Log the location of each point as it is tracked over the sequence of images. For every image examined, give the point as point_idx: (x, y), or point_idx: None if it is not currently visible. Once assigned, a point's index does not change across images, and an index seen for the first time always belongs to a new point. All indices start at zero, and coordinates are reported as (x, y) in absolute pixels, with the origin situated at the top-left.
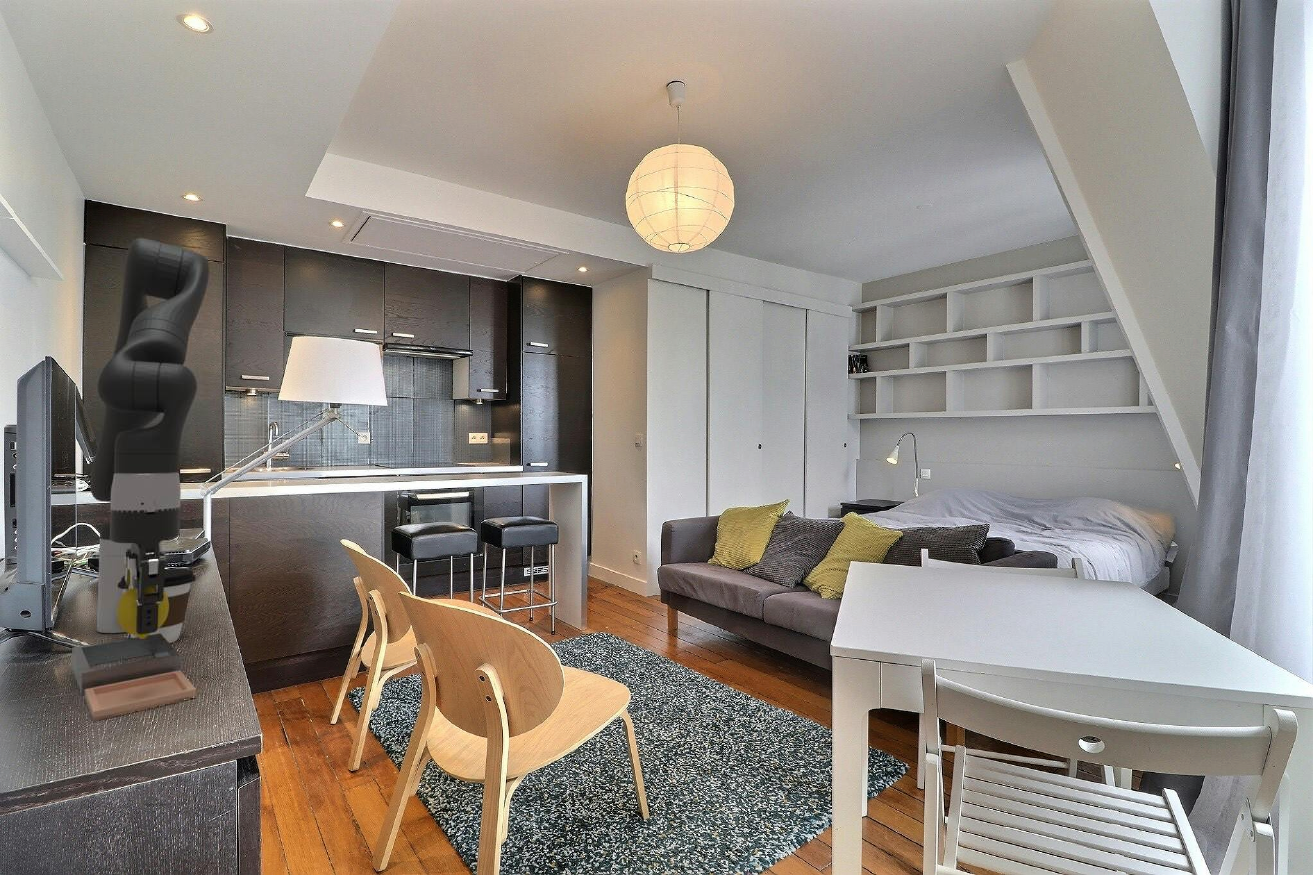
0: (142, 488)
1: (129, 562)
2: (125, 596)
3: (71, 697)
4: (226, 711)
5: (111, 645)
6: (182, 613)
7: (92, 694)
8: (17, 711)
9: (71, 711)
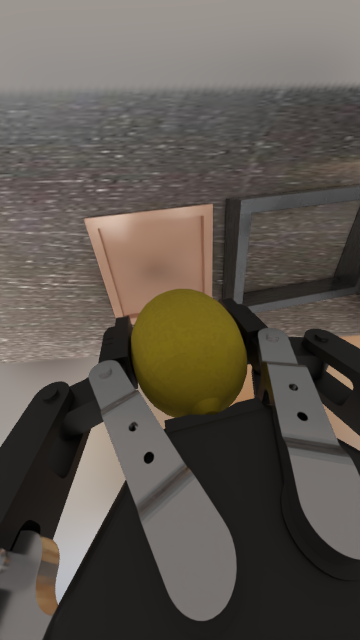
0: None
1: (157, 554)
2: (172, 348)
3: (226, 185)
4: (51, 346)
5: None
6: None
7: (176, 215)
8: (212, 99)
9: (155, 186)
